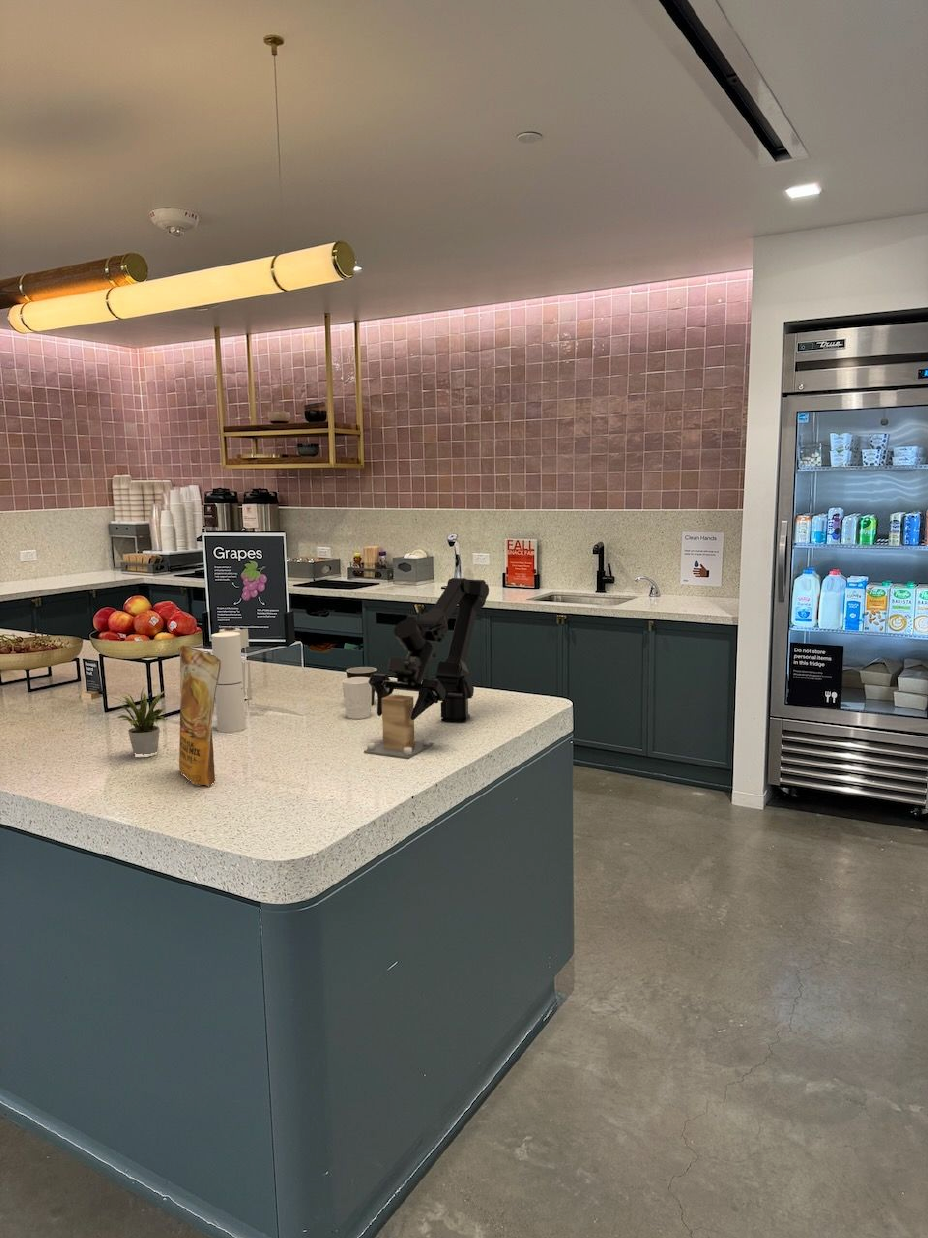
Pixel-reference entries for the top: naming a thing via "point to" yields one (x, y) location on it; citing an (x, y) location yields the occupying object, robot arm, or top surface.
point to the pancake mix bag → (197, 714)
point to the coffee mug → (362, 675)
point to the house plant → (143, 725)
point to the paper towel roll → (244, 644)
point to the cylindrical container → (229, 682)
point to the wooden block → (397, 722)
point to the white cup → (357, 697)
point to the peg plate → (404, 754)
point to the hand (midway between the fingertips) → (394, 717)
